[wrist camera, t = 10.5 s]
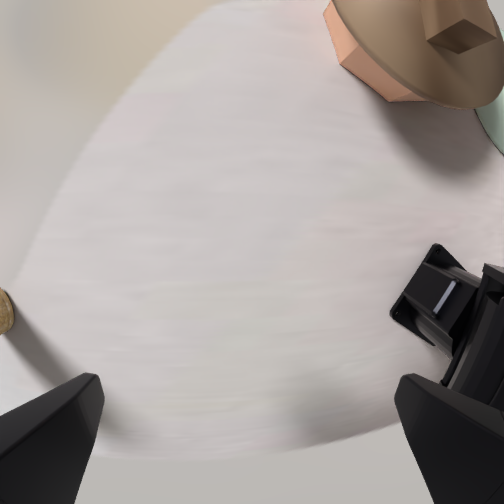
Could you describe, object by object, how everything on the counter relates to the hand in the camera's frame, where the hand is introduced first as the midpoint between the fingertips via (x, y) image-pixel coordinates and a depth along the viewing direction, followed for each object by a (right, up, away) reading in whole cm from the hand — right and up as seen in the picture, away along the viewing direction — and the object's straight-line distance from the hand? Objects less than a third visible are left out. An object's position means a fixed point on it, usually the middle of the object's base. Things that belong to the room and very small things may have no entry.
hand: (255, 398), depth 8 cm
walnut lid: (+10, +18, +4) cm, 21 cm away
